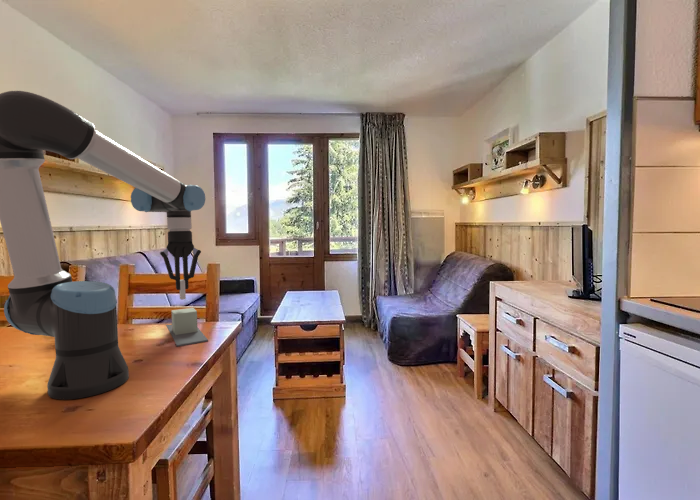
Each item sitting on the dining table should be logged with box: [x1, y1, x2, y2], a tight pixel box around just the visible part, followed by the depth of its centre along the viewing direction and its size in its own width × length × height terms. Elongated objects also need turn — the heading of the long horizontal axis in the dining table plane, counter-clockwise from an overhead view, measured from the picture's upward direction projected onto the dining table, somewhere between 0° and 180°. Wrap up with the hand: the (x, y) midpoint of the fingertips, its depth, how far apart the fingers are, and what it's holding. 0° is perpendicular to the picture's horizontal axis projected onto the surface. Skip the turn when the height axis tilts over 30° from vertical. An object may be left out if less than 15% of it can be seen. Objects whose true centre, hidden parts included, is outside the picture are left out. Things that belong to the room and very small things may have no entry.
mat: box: [165, 324, 209, 348], centre depth 124 cm, size 28×9×1 cm, turn 33°
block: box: [170, 307, 199, 335], centre depth 125 cm, size 7×7×7 cm
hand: (182, 298), depth 126 cm, fingers closed
